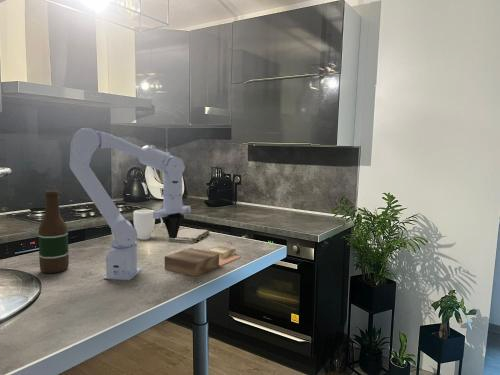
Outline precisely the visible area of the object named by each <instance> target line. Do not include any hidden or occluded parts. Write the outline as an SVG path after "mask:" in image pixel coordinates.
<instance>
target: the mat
mask: <svg viewBox="0 0 500 375" xmlns="http://www.w3.org/2000/svg"><path fill="white" fill-rule="evenodd" d="M207 252H209V250H208V251H207ZM241 258H242V256H241V255H237V254H234V255H231V256H229V257H226V258H224V259H220V258H219V266H218V267H222V266H224V265H227V264H229V263H231V262H233V261H236V260H238V259H241Z"/></svg>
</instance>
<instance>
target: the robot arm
mask: <svg viewBox="0 0 500 375" xmlns="http://www.w3.org/2000/svg"><path fill="white" fill-rule="evenodd" d="M97 148H99V149H108V148H109V149H110V148H111V149H112V150H113V149H114V150H115V151H116V150H117V151H119V152H122V153H125V154H127V155H131V156H133V157H136V158H137V159H138V161H139V163H140V164H142V165H144V166H147V167H149V168H153V169H155V170H157V171H162V172H163V182H162V184H163V186H162V187H163V196H162V197H163V208H161V209H159V210H156V211H155V210H154V212H153V218H155V220H156V219H157V220H159V219H160V218H161V217H162V220H163V224H164V226H165V228H166V231H167V234H168V236H169V238H173V239H174V238H177V234H178V231H180V227H181V224H182V223H183V221H184V219H185V215H184V213H191V212H192V208H191V206H190V205H183V173H184V171H185V169H186V166H185V163H184V160H182V158H181V157H178V156H174V155H171V152H170V151H166V152H165V151H163V150H161V149H158V148H157V146H156V145H154V144H151V145H144V146H143V147H141V146H139V145H136V144H134V143H132V142H130V141H127V140H125V139H123V138H120V137H118V136H117V135H116V136H115V135H113V134H111V133H108V132H103V131H100V130H94V129H93V128H90V127H82V128H80V129H78V130H77V131H76V132H75V134H74V135H73V137H72V140H71V142H70V151H69V152H70V153H69V154H70V155H69V169H70V170H71V172H72V174H74V176H75V178H76V179H77V180H78V182H79V183H80V185H81V186H82V189H83V190H84V191H85V192H86V194H87V195H88V197H89V198H90V199H91V201H92V202H93V204H94V205H95V207H96V208H97V209H98V211H99V213H100V214H101V216H102V217H103V218H104V220H105V221H106V223H107V224H108V227H109V228H110V229H111V231H110V232H111V234H112V236H113V238H114V239H113V240H112V241H111V242H110V250H109V252H108V253H107V255H106V257H105V271H106V272H105V273H106V274H105V275H104V276H103V280H121V281H131V280H132V279H133V278H134V277H135V276H136V275H137V274H138V273H139V272H141V271H142V270H143V268H142V267H138V244H137V243H138V242H137V239H138V235H137V231H136V229H135V227H134V225H133V224H132V223H131V222H130V221H129V220H127V219H126V218H125V217H124V216H123V215H122V213H121V212H120V210H119V209H118V207H117V206H116V204H115V203H114V200H112V198H111V197H110V195H109V193H108V192H107V191H106V189H105V188H104V186H103V185H102V183H101V182H100V180H99V178H98V177H97V176H96V174H95V173H94V171H93V170H92V168H91V167H90V163H91V160H92V156H93V153H95V151H96V150H97Z"/></svg>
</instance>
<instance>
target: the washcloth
mask: <svg viewBox="0 0 500 375" xmlns="http://www.w3.org/2000/svg"><path fill="white" fill-rule="evenodd" d="M207 234H208V235H209V234H210V231H209V230H208V229H196V228H195V229H193V228H183V229H181V230H180V229H179V230H178V234H177V238H174V239H173V238H169V235H168V236H167V239H168V240H167V243H168V242H169V241H170V242H171V243H178V244H187V243H189V245H190V244H194V242H195V243H197V242H198V241H197V240H199V239H200V240H202V239H203V238H202V237H204V236H205V237H207V236H208V235H207ZM206 235H207V236H206ZM205 237H204V238H205ZM201 238H202V239H201ZM200 240H199V241H200ZM196 241H197V242H196Z"/></svg>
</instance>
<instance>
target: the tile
mask: <svg viewBox="0 0 500 375" xmlns="http://www.w3.org/2000/svg"><path fill="white" fill-rule="evenodd" d="M208 251H209V252H211V253H216V254H219V258H220V259H224V258H226V257H229V256H231V255H237V248H236V247H232V246H228V245H224V244H223V245H220V246H217V247H214V248H211V249H208Z"/></svg>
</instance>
